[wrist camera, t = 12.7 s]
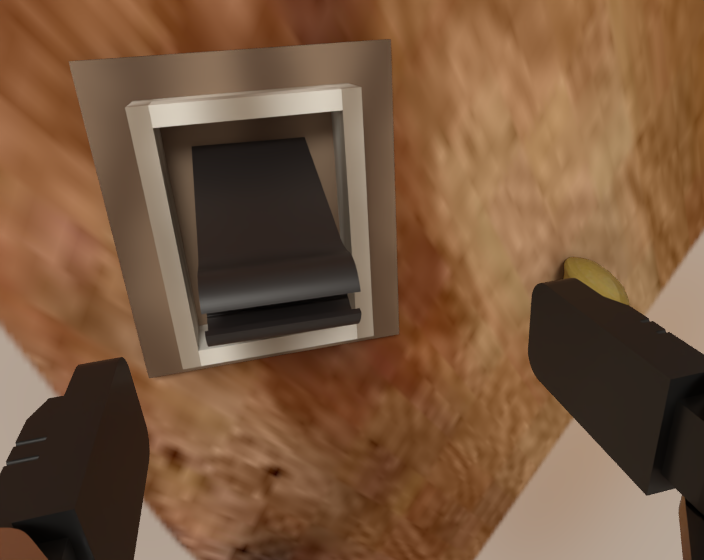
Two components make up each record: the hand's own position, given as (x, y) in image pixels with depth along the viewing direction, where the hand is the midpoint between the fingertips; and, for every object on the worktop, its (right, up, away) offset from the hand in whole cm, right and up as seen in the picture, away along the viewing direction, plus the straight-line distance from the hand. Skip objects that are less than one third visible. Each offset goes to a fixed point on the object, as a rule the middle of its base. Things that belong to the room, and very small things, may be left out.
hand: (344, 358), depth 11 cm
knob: (+16, +1, +29) cm, 33 cm away
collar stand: (-5, +5, +21) cm, 23 cm away
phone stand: (-5, +5, +21) cm, 22 cm away
